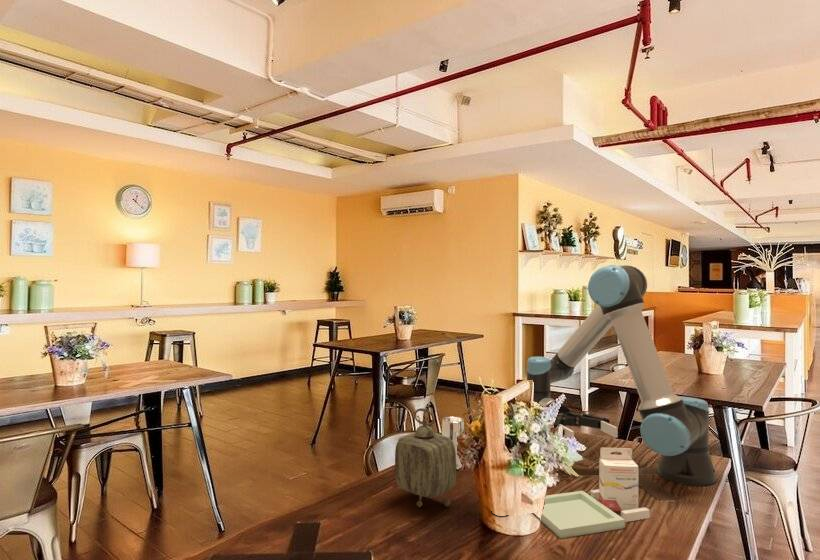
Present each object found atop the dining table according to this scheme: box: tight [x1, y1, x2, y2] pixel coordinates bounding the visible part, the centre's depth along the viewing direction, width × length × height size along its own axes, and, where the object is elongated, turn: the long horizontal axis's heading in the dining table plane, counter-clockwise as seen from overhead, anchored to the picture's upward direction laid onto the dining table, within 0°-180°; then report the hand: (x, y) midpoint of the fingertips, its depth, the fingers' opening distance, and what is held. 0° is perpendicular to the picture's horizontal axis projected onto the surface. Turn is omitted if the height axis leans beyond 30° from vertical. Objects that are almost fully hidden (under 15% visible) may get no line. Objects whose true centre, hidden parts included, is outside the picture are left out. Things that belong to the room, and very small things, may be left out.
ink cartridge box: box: [598, 447, 640, 512], centre depth 133 cm, size 9×5×15 cm, turn 84°
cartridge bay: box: [589, 488, 651, 523], centre depth 133 cm, size 7×14×2 cm, turn 15°
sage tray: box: [541, 490, 626, 539], centre depth 128 cm, size 17×17×2 cm
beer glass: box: [441, 416, 465, 469], centre depth 161 cm, size 7×7×15 cm
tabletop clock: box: [394, 407, 457, 508], centre depth 136 cm, size 14×9×25 cm, turn 48°
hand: (595, 434), depth 141 cm, fingers open, 13 cm apart
